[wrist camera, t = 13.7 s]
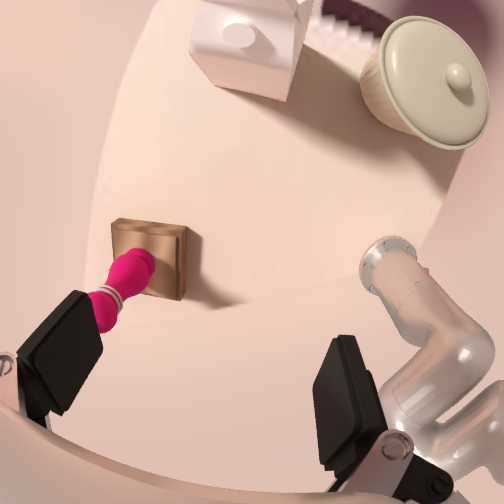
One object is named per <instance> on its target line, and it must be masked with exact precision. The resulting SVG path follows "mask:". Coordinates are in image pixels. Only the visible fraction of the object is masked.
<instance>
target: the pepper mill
mask: <svg viewBox="0 0 504 504" xmlns="http://www.w3.org/2000/svg"><path fill="white" fill-rule="evenodd" d="M154 270H155V263H154V260H153V258H152V256H151V255H150V254H149V253H148V252H147V251H146V250H144V249H141V248H132V249H130V250H129V251H128V252H127V253H126V254H123V255H120V256H119V257H117V258H116V260H115V261H114V262H113V263H112V265H111V268H110V270H109V275H108V279H107V281H106V283H105V284H104V285H100V286H98V287H97V288H96V289H95V290H94V291H93V292H90V293H88V295H89V297H90V298H91V300H92V304H93V309H94V313H95V317H96V322H97V326H98V330H99V333H100V334H101V333H106V332H108V331H110V330H111V329H112V328H113V327H114V326H115V324H116V322H117V315H118V314H119V312H120V311H121V310H122V308H123V302H124V301H125V300H126V299H127V298H129V297H132V296H135V295H137V294H139V293H141V292H142V291H143V290H144V289H145V288H146V287H147V285H148V283H149V280H150V277H151V275H152V274H153V272H154Z"/></svg>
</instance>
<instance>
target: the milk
mask: <svg viewBox="0 0 504 504" xmlns="http://www.w3.org/2000/svg"><path fill="white" fill-rule="evenodd" d="M313 3H314V0H202V1H201V2H200V4H199V7H198V11H197V15H196V18H195V22H194V26H193V30H192V34H191V39H190V44H189V54H190V56H191V57H192V59H193V60H194V61H195V62H196V64H197V65H198V66H199V67H200V69H201V70H202V71H203V72H204V74H205V75H206V76H207V78H208V79H209V80H210V81H211V83H212V84H213V85H214V86H219V87H224V88H229V89H234V90H239V91H243V92H248V93H252V94H256V95H260V96H264V97H268V98H272V99H276V100H279V101H283V102H286V99H287V96H288V93H289V89H290V86H291V83H292V79H293V76H294V73H295V69H296V66H297V63H298V59H299V56H300V53H301V50H302V46H303V43H304V39H305V35H306V31H307V27H308V23H309V19H310V15H311V11H312V7H313Z"/></svg>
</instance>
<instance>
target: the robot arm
mask: <svg viewBox="0 0 504 504" xmlns="http://www.w3.org/2000/svg"><path fill="white" fill-rule="evenodd" d="M384 242H385V243H384ZM359 275H360V280H361V282H362V284H363V286H364V287H365V288H366V290H367V291H369V292H370V293H372V294H374V295H377V296H379V297H380V299H381V301H382V303H383V304H384V306H385V308H386V310H387V311H388V313H389V315H390V316H391V319H392V320H393V322H394V324H395V326H396V328H397V329H398V331H399V333H400V335H401V336H402V338H403V339H404V340H405V341H407V342H408V343H410V344H412V345H415V346H418V347H422V348H421V349H420V350H419V351H418V352H417V353H416V354H415V355H414V357H413V358H412V359H410V360H409V361H408V362H407V363H406V364H405V365H404V366H403V367H402V368H401V369H400V370H399V371H397V372H396V373H395V374H394V375H393V376H392V377H391V378H390V379H389V380H387V381H386V382H385V383H384V384H383V386H382V387H381V388H380V390H379V392H377V389H376V386H375V383H374V380H373V377H372V374H371V372H370V371H369V370H366V367H365V364H364V361H363V358H362V355H361V353H360V349H359V347H358V344H357V341H356V338H355V336H353V335H338V337H337V338H333V339H332V342H331V344H330V347H329V349H328V351H327V354H326V356H325V359H324V361H323V364H322V366H321V368H320V370H319V373H318V375H317V377H316V379H315V381H314V384H313V400H314V409H315V418H316V428H317V438H318V448H319V460H320V464H322V465H324V466H325V467H324V468H325V471H333V470H334V475H335V478H336V479H335V481H333V483H332V484H331V485H330V486H329V488H328V489H327V490H326V491H325V492H324V493H272V492H254V491H243V490H233V489H225V488H218V487H211V486H205V485H200V484H194V483H190V482H185V481H180V480H176V479H172V478H168V477H164V476H160V475H156V474H153V473H149V472H146V471H143V470H140V469H136V468H133V467H130V466H128V465H125V464H122V463H119V462H116V461H114V460H111V459H109V458H106V457H104V456H101V455H99V454H96V453H94V452H91V451H89V450H87V449H85V448H83V447H81V446H78V445H76V444H74V443H72V442H70V441H68V440H66V439H64V438H62V437H60V436H59V435H57V434H55V433H53V432H52V429H51V424H50V420H49V415H48V413H49V412H50V410H51V411H52V412H54V413H56V414H58V415H60V416H62V415H63V413H64V411H67V410H68V409H69V408H70V406H71V404H72V403H73V401H74V399H75V397H76V396H77V394H78V392H79V390H80V389H81V387H82V385H83V384H84V382H85V380H86V379H87V377H88V375H89V374H90V372H91V370H92V369H93V367H94V366H95V364H96V362H97V361H98V359H99V357H100V356H101V354H102V352H103V344H102V341H101V337H100V333H99V330H98V326H97V322H96V317H95V313H94V309H93V304H92V300H91V298H90V297H89V295H88V294H87V293H85V292H81V291H78V290H74V291H72V292H71V293H70V294H69V295H68V296H67V297H66V298H65V299H64V300H63V301H62V302H61V303H60V305H58V306H57V307H56V308H55V310H54V311H53V312H52V313H51V314H50V315H49V316H48V317H47V318H46V319H45V320H44V321H43V322H42V323H41V324H40V326H39V327H38V328H37V329H36V330H35V331H34V332H33V333H32V334H31V336H30V337H29V338H28V339H27V340H26V341H25V342H24V343H23V345H22V346H21V347H20V348H19V349H18V351H17V352H16V353H17V355H18V357H17V358H15V356H14V355H13V354H12V353H9V352H2V353H0V504H470V503H469V502H468V501H467V500H466V499H465V498H464V496H463V495H462V494H461V493H460V492H459V491H458V490H457V491H455V492H454V491H453V487H454V483H453V482H455V481H457V480H459V479H461V478H462V477H464V476H466V475H467V474H469V473H470V472H472V471H473V470H475V469H476V468H478V467H481V466H485V467H487V469H488V470H489V471H490V473H491V475H492V477H493V478H494V480H495V481H496V482H497V483H498V484H501V485H504V380H498V381H496V382H494V383H492V384H491V385H489V386H488V387H487V388H485V389H484V390H483V391H482V392H481V393H480V394H478V395H477V396H476V397H475V398H474V399H473V400H472V401H470V402H469V403H468V404H467V405H466V406H465V407H463V408H462V409H461V410H460V411H459V412H457V413H456V414H455V415H454V416H453V417H451V418H450V419H449V420H447V421H446V422H445V423H442V424H441V423H438V422H437V421H435V420H436V419H437V418H439V417H440V416H441V415H442V414H444V413H445V412H446V411H447V410H449V409H450V408H451V407H453V406H454V405H455V404H457V403H458V402H459V401H460V400H461V399H462V398H463V397H464V396H466V395H467V394H468V393H469V392H470V391H471V390H472V389H473V388H474V387H475V386H476V385H477V384H478V383H479V382H480V381H481V380H482V379H483V378H484V376H485V375H486V374H487V372H488V371H489V369H490V368H491V366H492V363H493V361H494V357H495V346H494V342H493V340H492V338H491V337H490V335H489V334H488V332H487V331H486V330H485V329H484V328H483V327H482V326H480V325H479V324H478V323H477V322H476V321H475V320H473V319H472V318H471V317H470V316H469V315H467V314H466V313H465V312H464V311H463V310H462V309H461V308H460V307H459V306H458V305H457V304H456V303H455V302H454V301H453V300H452V299H451V298H450V297H449V296H448V295H447V294H446V292H445V291H444V290H443V289H442V288H441V287H440V286H439V285H438V283H437V282H436V281H435V280H434V279H433V278H432V277H431V276H430V275H429V269H428V268H423V267H421V265H420V264H419V263H418V262H417V256H416V252H415V250H414V248H413V246H412V245H411V244H410V243H409V242H408V241H406V240H405V239H403V238H401V237H396V236H392V237H386V238H383V239H381V240H378V241H377V242H375V243H374V244H373V245H372V246H371V247H369V249H368V250H367V251H366V252H365V254H364V256H363V258H362V260H361V263H360V268H359ZM388 428H389V429H390V430H389V429H388Z"/></svg>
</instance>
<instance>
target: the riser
mask: <svg viewBox="0 0 504 504" xmlns="http://www.w3.org/2000/svg"><path fill="white" fill-rule="evenodd" d="M186 230H187V226H180V225H172V224H164V223H156V222H148V221H140V220H132V219H124V218H119V219H117V220H116V221H114V222H113V223H111V233H112V247H113V258H114V261H115V260H116V258H117V257H119V256H120V255H123V254H126V253H127V252H128V251H129V250H130V249H132V248H141V249H144V250H146V251H147V252H148V253H149V254H150V255H151V256H152V258H153V260H154V263H155V270H154V272H153V274H152V275H151V277H150V280H149V283H148V285H147V287H146V288H145V289H144V290H143V291H142V292H141V293H140V294H145V295H150V296H155V297H160V298H165V299H171V300H176V301H181V299H182V297H183V295H184V293H185V259H186Z"/></svg>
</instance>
